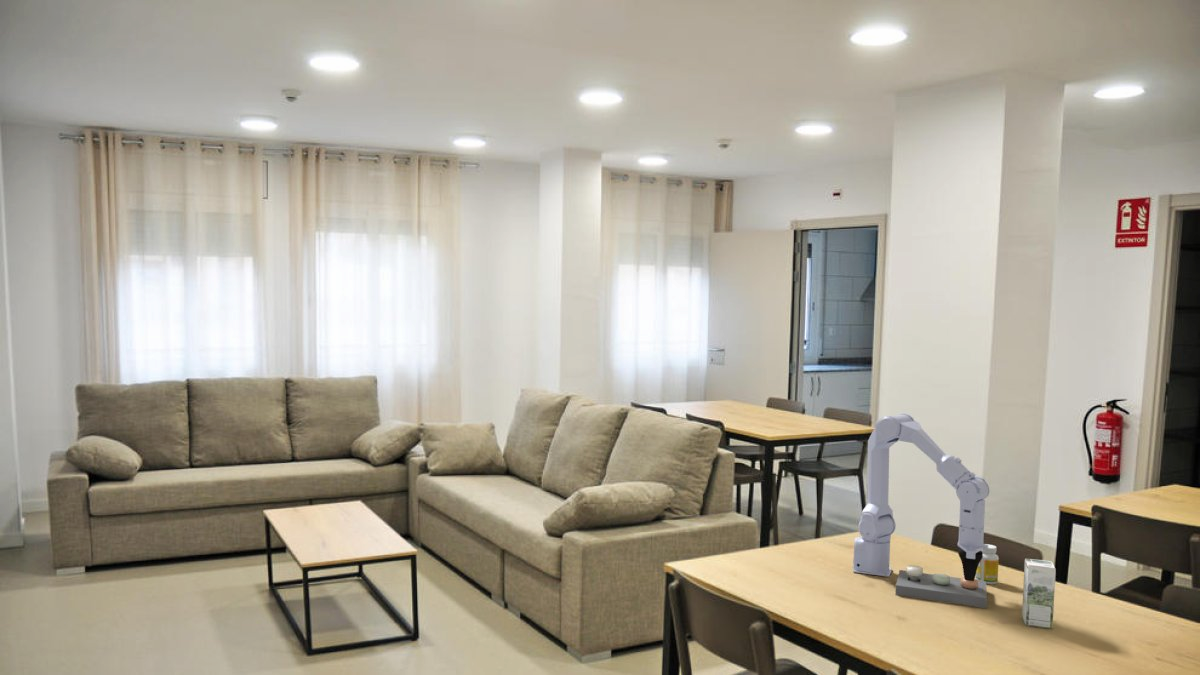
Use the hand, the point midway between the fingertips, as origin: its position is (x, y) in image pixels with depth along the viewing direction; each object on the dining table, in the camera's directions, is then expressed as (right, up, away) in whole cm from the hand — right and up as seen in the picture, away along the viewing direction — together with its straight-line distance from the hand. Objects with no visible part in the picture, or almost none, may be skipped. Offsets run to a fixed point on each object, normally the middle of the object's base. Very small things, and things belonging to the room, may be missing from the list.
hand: (969, 579), depth 215 cm
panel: (-6, -4, +3) cm, 8 cm away
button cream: (-12, -2, +5) cm, 13 cm away
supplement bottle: (+10, -4, +13) cm, 17 cm away
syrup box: (+8, -5, -17) cm, 20 cm away
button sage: (-6, -3, +3) cm, 7 cm away
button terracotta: (0, -4, 0) cm, 4 cm away
